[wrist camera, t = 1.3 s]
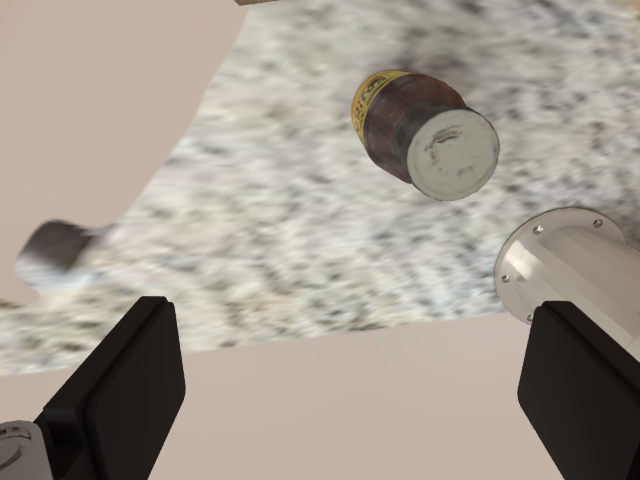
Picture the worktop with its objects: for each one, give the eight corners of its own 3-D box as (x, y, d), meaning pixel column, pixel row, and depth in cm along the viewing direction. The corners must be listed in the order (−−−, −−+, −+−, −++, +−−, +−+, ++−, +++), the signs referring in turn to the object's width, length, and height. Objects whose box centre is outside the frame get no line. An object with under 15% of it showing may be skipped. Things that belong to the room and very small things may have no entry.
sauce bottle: (356, 65, 35) (398, 49, 16) (429, 76, 35) (553, 73, 16) (343, 144, 37) (368, 209, 18) (412, 154, 37) (504, 227, 19)
